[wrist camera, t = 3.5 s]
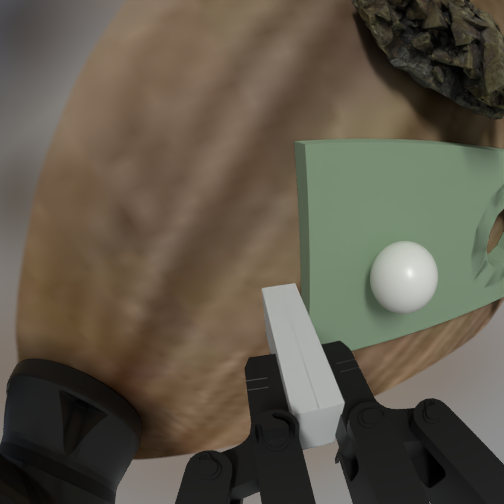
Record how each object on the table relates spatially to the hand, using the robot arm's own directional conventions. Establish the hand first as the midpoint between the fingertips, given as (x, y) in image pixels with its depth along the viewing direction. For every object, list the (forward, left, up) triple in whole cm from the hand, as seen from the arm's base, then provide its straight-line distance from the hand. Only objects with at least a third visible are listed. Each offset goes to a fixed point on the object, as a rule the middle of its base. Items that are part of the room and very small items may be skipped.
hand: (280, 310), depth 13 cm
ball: (+7, 0, -1) cm, 7 cm away
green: (+14, 0, -5) cm, 15 cm away
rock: (+12, +15, -5) cm, 20 cm away
